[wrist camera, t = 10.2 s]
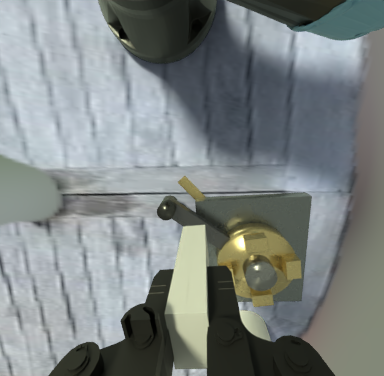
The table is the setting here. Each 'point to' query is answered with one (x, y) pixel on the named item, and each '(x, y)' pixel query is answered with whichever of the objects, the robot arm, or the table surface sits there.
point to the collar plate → (264, 214)
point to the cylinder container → (255, 324)
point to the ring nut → (245, 253)
